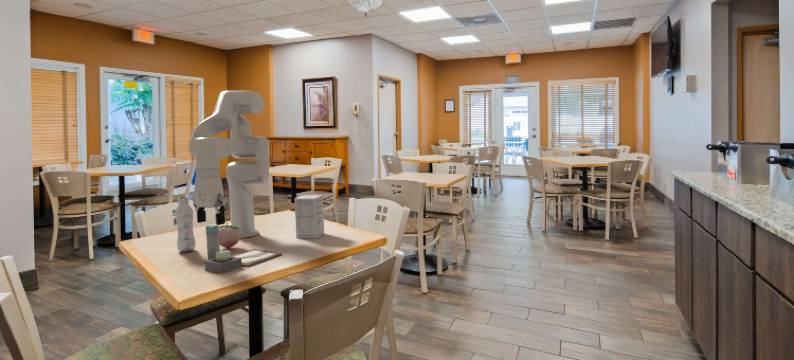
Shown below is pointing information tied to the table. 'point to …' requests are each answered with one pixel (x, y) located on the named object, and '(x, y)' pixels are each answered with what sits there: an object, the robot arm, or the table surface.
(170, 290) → the table surface
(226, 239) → the decorative fruit
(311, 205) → the supplement box
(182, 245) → the plastic bottle
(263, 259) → the clipboard
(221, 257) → the button
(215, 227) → the marker
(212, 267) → the button housing
